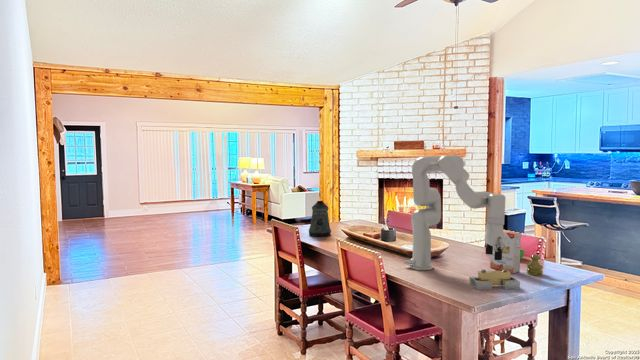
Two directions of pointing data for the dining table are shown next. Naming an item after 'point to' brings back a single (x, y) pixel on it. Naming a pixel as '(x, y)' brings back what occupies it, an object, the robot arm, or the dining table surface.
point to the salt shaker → (535, 266)
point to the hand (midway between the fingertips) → (493, 257)
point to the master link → (494, 276)
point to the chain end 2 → (511, 284)
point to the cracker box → (508, 253)
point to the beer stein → (320, 221)
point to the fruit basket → (521, 252)
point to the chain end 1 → (480, 284)
